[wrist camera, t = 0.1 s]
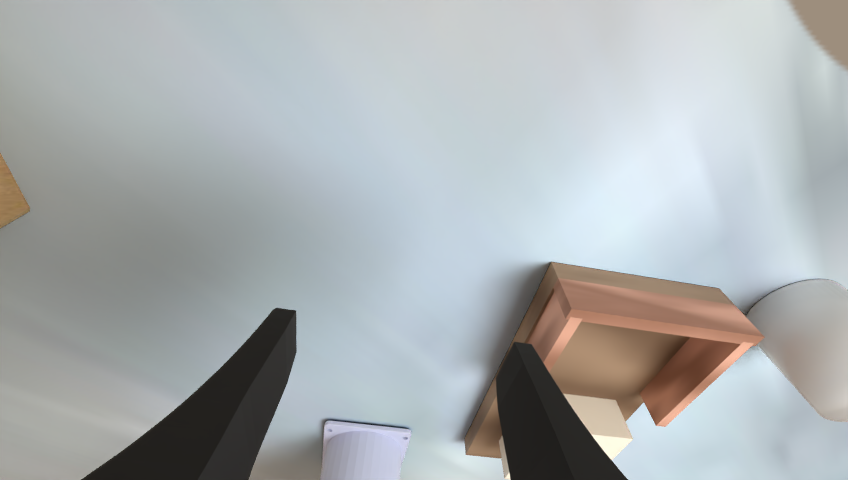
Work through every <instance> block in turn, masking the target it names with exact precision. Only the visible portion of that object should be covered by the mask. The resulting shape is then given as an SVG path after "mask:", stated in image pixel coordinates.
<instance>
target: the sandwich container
mask: <svg viewBox="0 0 848 480" xmlns="http://www.w3.org/2000/svg"><path fill="white" fill-rule="evenodd" d="M29 211H30V207H29V205H28V203H27V202H26V200H25V198H24V196H23V194H22V192H21V190H20V189H19V187H18V185H17V183H16V181H15V179H14V177H13V176H12V174H11V172H10V170H9V168H8V166H7V164H6V163H5V161H4V159H3V157H2V155H1V153H0V228H2V227H4V226H5V225H7V224H9V223H10V222H12V221H14V220H16V219H17V218H19V217H21V216H22V215H24V214H26V213H27V212H29Z"/></svg>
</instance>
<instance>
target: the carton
mask: <svg viewBox="0 0 848 480" xmlns="http://www.w3.org/2000/svg"><path fill="white" fill-rule="evenodd" d="M563 395H564V396H565V398H566V399H567V401H568V402H569V404H570V405H571V407H572V408H573V410H574V411H575V413H576V414H577V415H578V417H579V418H580V420H581V421H582V423H583V424H584V425H585V427H586V428H587V429H588V431H589V432H590V433H591V435H592V436H593V438H594V439H595V440H596V442H597V443H598V444H599V445H600V447H601V448H602V449H603V451H604V452H605V453H606V454H607V455H608V457H609V458H610V459H611V460H612V459H613V458H614V457H615V456H617V455H618V454H619V453H620V452H621V451H622V450H623V449H624V448H625V447H626V446H627V445H628V444H629V443H630V442H631V441H632V440H633V438H632V436H631V433H630V431H629V429H628V427H627V424H626V422H625V420H624V418H623V415H622V413H621V411H620V409H619V406H618V404H617V402H616V400H611V399H603V398H595V397H586V396H578V395H570V394H563ZM499 445H500V452H501V458H502V465H503V472H504V478H505V479H510V473H509V468H508V463H507V457H506V452H505V447H504V441H503V436H502V437H501V439H500V440H499Z"/></svg>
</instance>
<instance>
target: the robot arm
mask: <svg viewBox="0 0 848 480" xmlns="http://www.w3.org/2000/svg"><path fill="white" fill-rule="evenodd" d="M295 355H296V311H295V310H288V309H281V308H275V309H274V310H272V312H271V313H270V314H269V315H268V317H267V318H266V319H265V320H264V322H263V323H262V324H261V325H260V326H259V327H258V329H257V330H256V331H255V332H254V333H253V334H252V335H251V337H250V338H249V339H248V340H247V341H246V342H245V343H244V344H243V345H242V346H241V347H240V348H239V349H238V350H237V352H236V353H235V354H234V355H233V356H232V357H231V358H230V359H229V360H228V361H227V362H226V363H225V364H224V365H223V366H222V367H221V368H220V369H219V370H218V371H217V372H216V373H215V374H214V375H213V376H212V377H210V378H209V379H208V380H207V381H206V382H205V383H204V384H203V385H202V386H201V387H200V388H199V389H198V390H197V391H196V392H194V393H193V394H192V395H191V396H190V397H189V398H188V399H187V400H185V401H184V402H183V403H182V404H181V405H180V406H178V407H177V408H176V409H175V410H174V411H173V412H171V413H170V414H169V415H168V416H167V417H165V418H164V419H163V420H162V421H160V422H159V423H158V424H157V425H155V426H154V427H153V428H151V429H150V430H149V431H148V432H146V433H145V434H144V435H143V436H141V437H140V438H139V439H137V440H136V441H135V442H133V443H132V444H131V445H129V446H128V447H127V448H125V449H124V450H123V451H121V452H120V453H119V454H117V455H116V456H114V457H113V458H112V459H110V460H109V461H107V462H106V463H104V464H103V465H102V466H100V467H99V468H97V469H96V470H94V471H93V472H91V473H90V474H89V475H87V476H86V477H84V478H83V479H81V480H249V476H250V473H251V470H252V468H253V465H254V462H255V460H256V457H257V454H258V452H259V449H260V447H261V445H262V442H263V440H264V437H265V435H266V433H267V430H268V428H269V425H270V423H271V421H272V418H273V416H274V414H275V411H276V409H277V406H278V404H279V402H280V399H281V397H282V394H283V392H284V389H285V387H286V384H287V382H288V378H289V375H290V372H291V369H292V365H293V362H294V358H295ZM496 392H497V406H498V413H499V419H500V425H501V430H502V436H503V441H504V447H505V452H506V457H507V463H508V468H509V473H510V479H511V480H628V479H627V478H626V477H625V476H624V475H623V474H622V472H621V471H620V470H619V469H618V468H617V466H616V465H615V464H614V463H613V462H612V460H611V459H610V458H609V457H608V455H607V454H606V453H605V452H604V451H603V449H602V448H601V447H600V445H599V444H598V443H597V442H596V440H595V439H594V438H593V436H592V435H591V433H590V432H589V431H588V429H587V428H586V427H585V425H584V424H583V423H582V421H581V420H580V418H579V417H578V415H577V414H576V413H575V411H574V410H573V408H572V407H571V405H570V404H569V402H568V401H567V399H566V398H565V396H564V395H563V393H562V392H561V390H560V388H559V387H558V385H557V384H556V382H555V381H554V379H553V377H552V376H551V374H550V373H549V371H548V370H547V368H546V366H545V365H544V363H543V361H542V360H541V358H540V357H539V355H538V353H537V352H536V350H535V349H534V347H533V346H532V344H527V343H520V342H514V343H513V345H512V347H511V349H510V351H509V353H508V355H507V357H506V359H505V361H504V363H503V365H502V367H501V369H500V371H499V373H498V374H497V376H496ZM410 438H411V430H409V429H403V428H394V427H385V426H376V425H366V424H357V423H348V422H339V421H326V422H325V425H324V438H323V456H322V472H321V476H320V480H400V470H401V466H402V463H403V460H404V457H405V454H406V450H407V447H408V444H409V441H410Z"/></svg>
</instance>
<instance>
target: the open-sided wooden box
mask: <svg viewBox="0 0 848 480" xmlns="http://www.w3.org/2000/svg"><path fill="white" fill-rule="evenodd" d="M763 338H765V337H764V336H763V335H762V334H761V332H760V331H759V330H758V329H757V328H756V327H755V326H754V325H753V324H752V323H751V322H750V321H749V320H748V319H747V318H746V317H745V315H744V314H743V313H742V312H741V311H740V310H739V309H738V308H737V307H736V306H735V305H734V304H733V303H732V302H731V301H730V300H729V298H728V297H727V296H726V295H725V294H724V293H723V292H722V291H721V290H720V289H719V288H713V287H706V286H700V285H694V284H687V283H681V282H675V281H668V280H662V279H656V278H649V277H643V276H637V275H630V274H624V273H618V272H611V271H605V270H599V269H592V268H586V267H580V266H573V265H567V264H561V263H554V262H551V264H550V266H549V268H548V270H547V272H546V274H545V276H544V278H543V280H542V282H541V284H540V286H539V288H538V290H537V292H536V294H535V296H534V298H533V300H532V302H531V304H530V306H529V308H528V310H527V312H526V314H525V316H524V318H523V321H522V323H521V325H520V327H519V329H518V331H517V333H516V335H515V337H514V339H513V341H512V343H511V345H510V347H509V349H508V351H507V353H506V355H505V357H504V359H503V361H502V363H501V365H500V367H499V369H498V371H497V373H496V375H495V377H494V380H493V382H492V384H491V386H490V388H489V390H488V392H487V394H486V396H485V398H484V400H483V402H482V404H481V406H480V408H479V410H478V412H477V414H476V416H475V418H474V420H473V422H472V424H471V426H470V428H469V430H468V432H467V434H466V436H465V450H466V455H473V456H483V457H493V458H501V452H500V445H499V440H500V439H501V437H502V430H501V425H500V419H499V413H498V406H497V392H496V376H497V374H498V373H499V371H500V369H501V367H502V365H503V363H504V361H505V359H506V357H507V355H508V353H509V351H510V349H511V347H512V345H513V343H514V342H520V343H527V344H532V346H533V347H534V349H535V350H536V352H537V353H538V355H539V357H540V358H541V360H542V361H543V363H544V365H545V366H546V368H547V370H548V371H549V373H550V374H551V376H552V377H553V379H554V381H555V382H556V384H557V385H558V387H559V388H560V390H561V392H562V393H563V394H570V395H578V396H586V397H595V398H603V399H611V400H616V402H617V404H618V406H619V409H620V411H621V413H622V415H623V418H624V420H625V421H626V420H627V419H628V418H629V417H630V416H631V415H632V414H633V413H634V412H635V411H636V410H637V409H638V408H639V407H640V405H641V404H642V403H643V402H644V403H645V405H646V407H647V409H648V411H649V413H650V415H651V417H652V419H653V421H654V422H655V424H656V426H664V427H665V426H666V425H667V424H669V423H670V422H671V421H672V420H673V419H674V418H675V417H676V416H677V415H678V414H679V413H680V412H681V411H683V410H684V409H685V408H686V407H687V406H688V405H689V404H690V403H691V402H692V401H693V400H694V399H695V398H696V397H698V396H699V395H700V394H701V393H702V392H703V391H704V390H705V389H706V388H707V387H708V386H709V385H710V384H711V383H713V382H714V381H715V380H716V379H717V378H718V377H719V376H720V375H721V374H722V373H723V372H724V371H725V370H726V369H728V368H729V367H730V366H731V365H732V364H733V363H734V362H735V361H736V360H737V359H738V358H739V357H740V356H742V355H743V354H744V353H745V352H746V351H747V350H748V349H749V348H750V347H751V346H756V345H757V344H758V343H759V342H760V341H761V340H762V339H763Z"/></svg>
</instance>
